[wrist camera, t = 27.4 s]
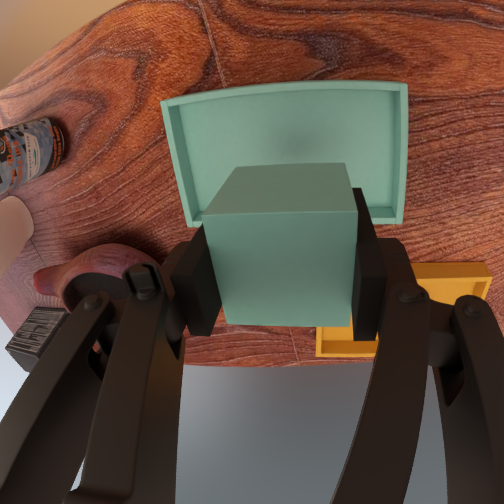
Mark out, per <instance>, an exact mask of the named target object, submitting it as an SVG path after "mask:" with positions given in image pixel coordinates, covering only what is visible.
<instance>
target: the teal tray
mask: <svg viewBox="0 0 504 504" xmlns="http://www.w3.org/2000/svg"><path fill="white" fill-rule="evenodd" d="M160 104H161V109H162V114H163V119H164V124H165V129H166V134H167V139H168V144H169V148H170V153H171V158H172V162H173V167H174V171H175V176H176V180H177V184H178V189H179V193H180V197H181V201H182V206H183V210H184V214H185V218H186V222H187V226H188V227H200V226H201V224H202V223H203V221H202V217H201V215H202V214H203V212H204V211H205V209H206V208H207V206H208V205H209V204H210V202H211V201H212V199H213V198H214V196H215V195H216V194H217V192H218V191H219V189H220V188H221V186H222V185H223V184H224V182H225V181H226V179H227V178H228V177H229V175H230V174H231V173H232V171H233V170H234V168H235V167H242V166H257V165H274V164H297V163H340V162H344V163H345V165H346V169H347V172H348V176H349V179H350V183H351V187H352V188H361V189H362V192H363V195H364V198H365V201H366V204H367V207H368V210H369V213H370V216H371V220H372V223H373V224H402V221H403V212H404V202H405V190H406V176H407V156H408V84H406V83H402V82H397V81H379V80H309V81H290V82H276V83H265V84H255V85H246V86H238V87H230V88H223V89H216V90H210V91H204V92H198V93H192V94H187V95H182V96H177V97H172V98H169V99H166V100H163V101H160Z"/></svg>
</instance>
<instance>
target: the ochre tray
mask: <svg viewBox="0 0 504 504" xmlns="http://www.w3.org/2000/svg"><path fill="white" fill-rule="evenodd" d="M411 266H412V268H413V271H414V274H415V277H416V280H417V283H418V285H420V286H421V287H423V288H424V289H425V290H427V292H428V293H429V297H430V299H432V300H434V301H437V302H441V303H446V304H450V305H454V304H455V301H456V299H457V298H459V297H460V296H463V295H475V296H477V297H480V298H482V299H483V300H484V299H485V297H486V294H487V292H488V289H489V286H490V283H491V281H492V278H493V276H492V275H491V273H490V271H489V269H488V268H487V266H486V265H485V263H484V262H442V263H411ZM377 346H378V338H377V336H376V340H375V341H353V324H352V310H351V319H350V326H349V327H316V357H373V356H375V354H376V350H377Z"/></svg>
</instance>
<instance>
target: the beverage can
mask: <svg viewBox="0 0 504 504" xmlns="http://www.w3.org/2000/svg"><path fill="white" fill-rule="evenodd" d="M63 151H64V139H63V135H62V132H61V130H60V128H59V127H58V125H57V123H56V122H55V121H54V120H53V119H51V118H49V117H42V118H39V119H35V120H31V121H28V122H24V123H21V124H18V125H14V126H11V127H8V128H5V129H2V130H0V195H1V194H3V193H5V192H7V191H9V190H11V189H13V188H15V187H17V186H19V185H21V184H24V183H26V182H28V181H30V180H32V179H34V178H37V177H39V176H41V175H43V174H46V173H48V172H50V171H53V170H55V169H56V168H57V167H58V166H59V165H60V163H61V161H62V157H63Z"/></svg>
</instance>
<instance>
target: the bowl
mask: <svg viewBox="0 0 504 504" xmlns="http://www.w3.org/2000/svg"><path fill="white" fill-rule="evenodd" d="M143 261H151V262H154V263H156V264H157V265H158V268H160V267H161V266H160V265H159V264H158V263H157V262H156V261H155V260H154V259H153V258H152V257H150V256H149V255H147V254H145V253H143V252H141V251H139V250H137V249H135V248H133V247H130V246H127V245H123V244H115V243H110V244H102V245H99V246H96V247H93V248H90V249H88V250H86V251H85V252H83V253H81V254H80V255H78V256H77V257H75V258H74V259H73V260H71V261H70V262H68V263H64V264H60V265H54V266H49V267H46V268H43V269H40V270H38V271H37V272H36V273H35V274H34V277H33V282H34V287H35V289H36V291H37V292H39V293H40V294H42V295H50V296H56V297H59V298H60V299H61V302H62V304H63V306H64V307H65V308H66V310H67V311H68V312H69V313H70V314H71V313H72V312H73V311H74V309H75V308H76V307H77V305H78V304H79V303H80V301H81V300H82V299H83V298H84V297H86V296H87V295H89V294H90V293H93V292H96V291H104V292H107V293H108V294H109V296H110V298H111V300H112V301H114V300H120V299H125V298H128V297H129V293H128V290H127V288H126V286H125V283H124V281H123V279H122V276H121V275H122V273H123V272H124V271H125V270H126V269H127V268H128V267H130V266H132V265H134V264H136V263H139V262H143Z"/></svg>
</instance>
